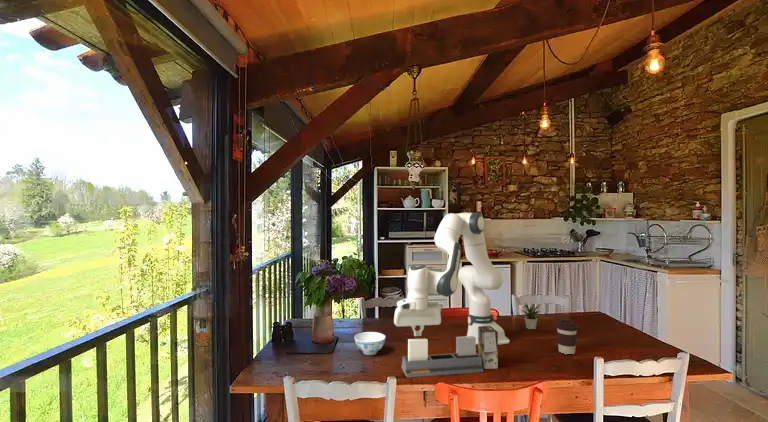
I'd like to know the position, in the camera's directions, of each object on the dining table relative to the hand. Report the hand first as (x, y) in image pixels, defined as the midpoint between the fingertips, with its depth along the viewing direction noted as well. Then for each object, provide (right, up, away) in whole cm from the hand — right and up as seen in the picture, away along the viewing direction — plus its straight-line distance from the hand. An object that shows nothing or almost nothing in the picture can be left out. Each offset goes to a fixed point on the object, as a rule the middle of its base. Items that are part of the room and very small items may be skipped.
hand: (417, 335), depth 162 cm
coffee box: (+32, -16, +8) cm, 37 cm away
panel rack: (+11, -15, +2) cm, 19 cm away
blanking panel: (0, -14, 0) cm, 14 cm away
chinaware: (-21, -16, +22) cm, 34 cm away
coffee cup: (+75, -16, +23) cm, 80 cm away
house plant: (+71, -16, +62) cm, 96 cm away
